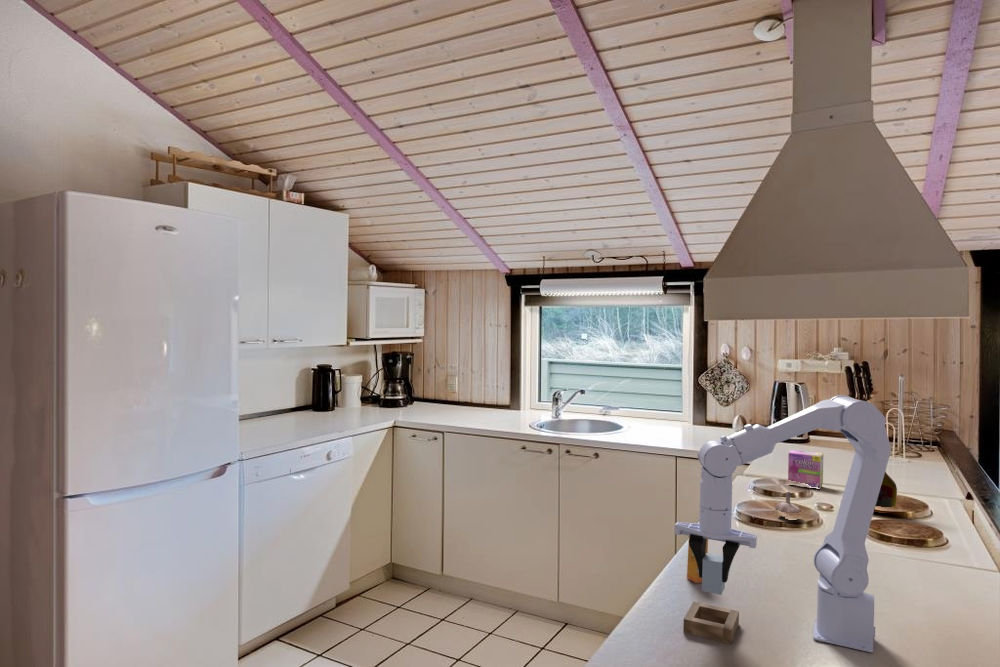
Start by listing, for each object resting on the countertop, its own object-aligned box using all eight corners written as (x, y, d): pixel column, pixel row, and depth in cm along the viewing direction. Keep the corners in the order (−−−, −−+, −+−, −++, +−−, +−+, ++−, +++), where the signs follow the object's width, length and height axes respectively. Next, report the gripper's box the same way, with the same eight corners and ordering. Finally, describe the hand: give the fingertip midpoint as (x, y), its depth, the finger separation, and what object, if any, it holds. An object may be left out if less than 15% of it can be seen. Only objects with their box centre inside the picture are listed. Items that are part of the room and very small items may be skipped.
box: (787, 485, 227) (788, 452, 227) (790, 482, 232) (791, 449, 231) (820, 490, 221) (821, 456, 221) (822, 487, 226) (823, 453, 225)
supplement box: (708, 581, 143) (709, 536, 143) (696, 584, 142) (697, 538, 142) (698, 576, 146) (699, 532, 146) (685, 578, 145) (687, 534, 145)
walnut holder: (738, 624, 124) (739, 611, 124) (731, 643, 116) (731, 630, 116) (693, 613, 128) (693, 601, 128) (683, 632, 120) (683, 618, 120)
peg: (724, 588, 123) (725, 556, 122) (721, 595, 120) (722, 562, 119) (705, 584, 124) (706, 553, 124) (701, 590, 121) (702, 559, 121)
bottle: (897, 513, 196) (899, 447, 196) (894, 518, 191) (896, 450, 191) (853, 505, 204) (855, 442, 203) (848, 510, 199) (850, 445, 198)
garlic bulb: (775, 513, 194) (776, 487, 194) (802, 517, 191) (803, 490, 191) (774, 520, 188) (774, 493, 187) (802, 524, 184) (802, 496, 184)
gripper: (759, 507, 121) (757, 578, 122) (681, 495, 128) (679, 563, 129) (754, 517, 115) (752, 592, 116) (672, 504, 122) (670, 575, 123)
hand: (713, 578), depth 122 cm, fingers closed on peg, 3 cm apart
